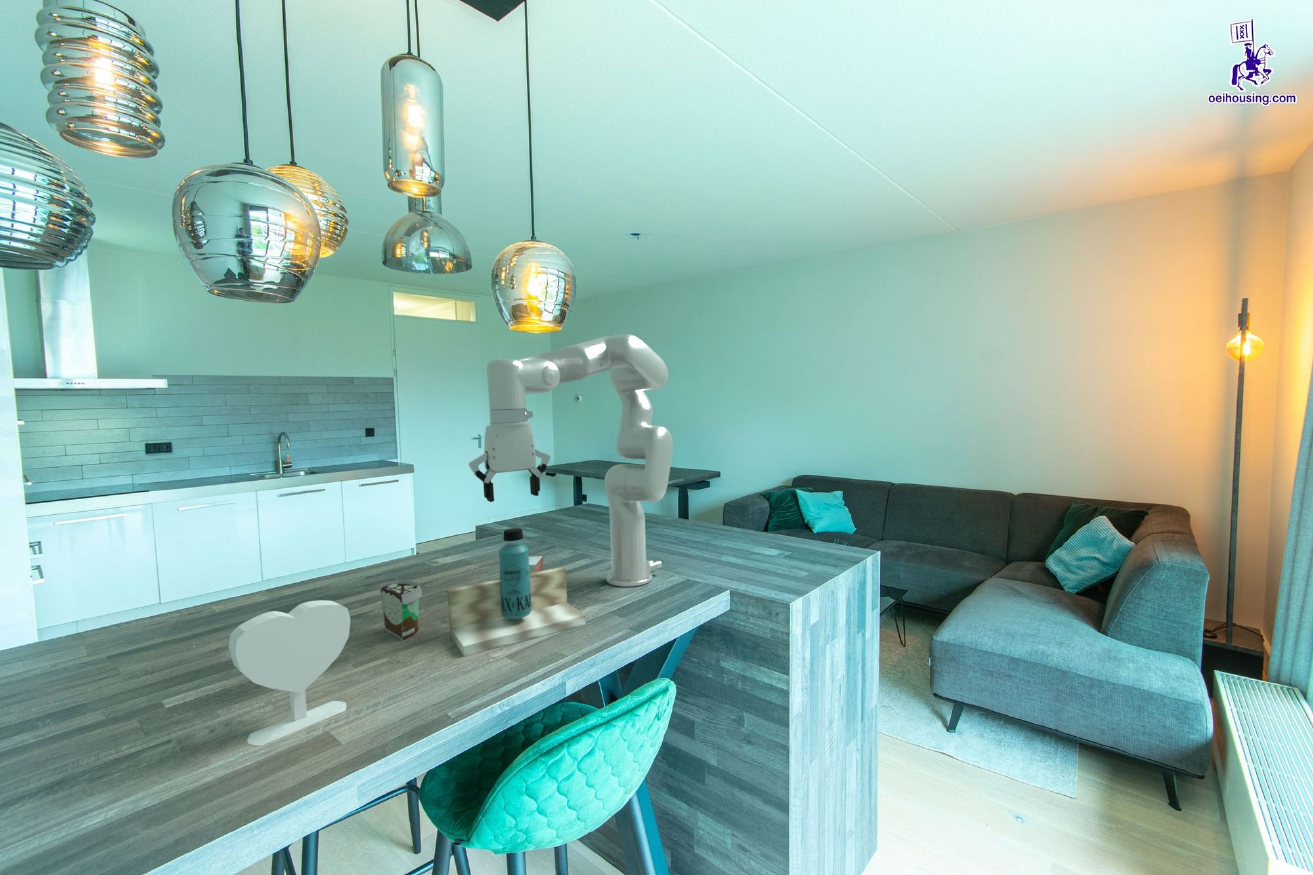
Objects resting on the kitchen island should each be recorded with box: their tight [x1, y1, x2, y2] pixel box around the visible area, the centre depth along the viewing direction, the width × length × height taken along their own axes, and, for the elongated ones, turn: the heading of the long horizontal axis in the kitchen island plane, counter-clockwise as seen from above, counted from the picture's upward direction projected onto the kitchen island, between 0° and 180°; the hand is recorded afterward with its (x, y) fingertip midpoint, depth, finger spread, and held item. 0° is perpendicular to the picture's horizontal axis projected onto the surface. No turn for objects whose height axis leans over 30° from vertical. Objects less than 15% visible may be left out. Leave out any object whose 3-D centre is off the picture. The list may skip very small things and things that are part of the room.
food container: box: [379, 580, 423, 641], centre depth 123 cm, size 12×6×10 cm, turn 47°
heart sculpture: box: [228, 599, 352, 747], centre depth 87 cm, size 16×5×18 cm, turn 140°
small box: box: [529, 555, 545, 573], centre depth 137 cm, size 8×6×10 cm
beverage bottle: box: [498, 527, 532, 619], centre depth 120 cm, size 6×7×20 cm
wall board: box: [447, 566, 587, 657], centre depth 121 cm, size 26×12×10 cm, turn 122°
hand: (513, 498), depth 120 cm, fingers open, 9 cm apart
